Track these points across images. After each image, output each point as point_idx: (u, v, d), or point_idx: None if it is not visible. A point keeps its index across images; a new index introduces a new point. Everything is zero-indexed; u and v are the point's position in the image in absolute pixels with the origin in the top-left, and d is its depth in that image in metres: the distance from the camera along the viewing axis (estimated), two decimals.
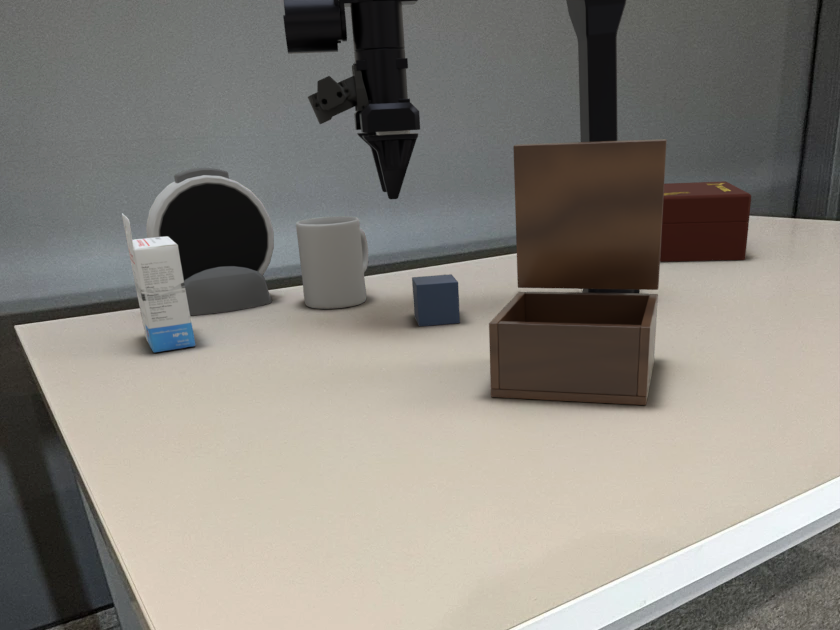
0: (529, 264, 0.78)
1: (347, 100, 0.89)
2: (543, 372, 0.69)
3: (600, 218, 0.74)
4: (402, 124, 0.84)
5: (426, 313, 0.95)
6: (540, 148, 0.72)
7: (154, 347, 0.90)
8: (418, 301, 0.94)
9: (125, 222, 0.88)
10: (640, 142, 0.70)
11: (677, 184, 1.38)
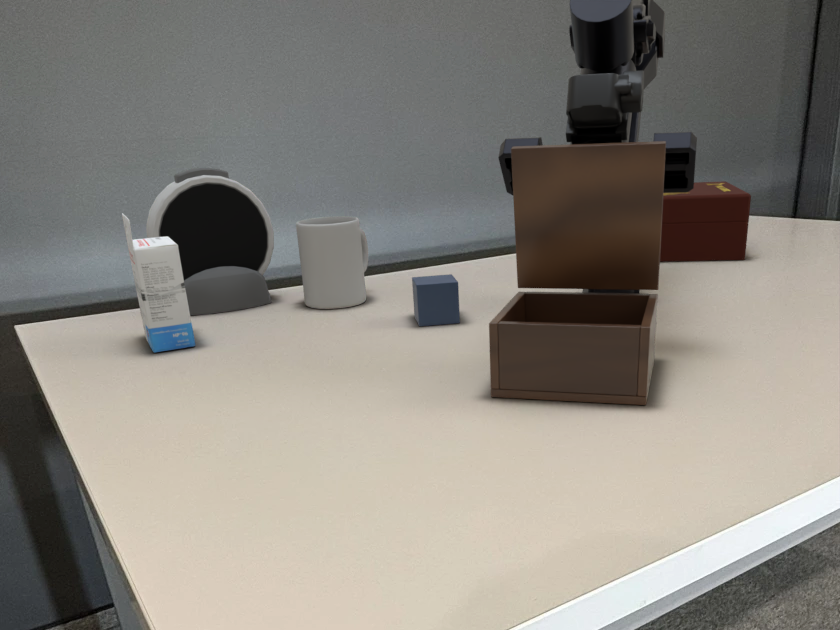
0: (529, 265, 0.78)
1: (622, 114, 0.75)
2: (543, 372, 0.69)
3: (599, 220, 0.73)
4: None
5: (426, 313, 0.95)
6: (538, 151, 0.71)
7: (154, 347, 0.90)
8: (418, 301, 0.94)
9: (125, 222, 0.88)
10: (639, 145, 0.69)
11: None
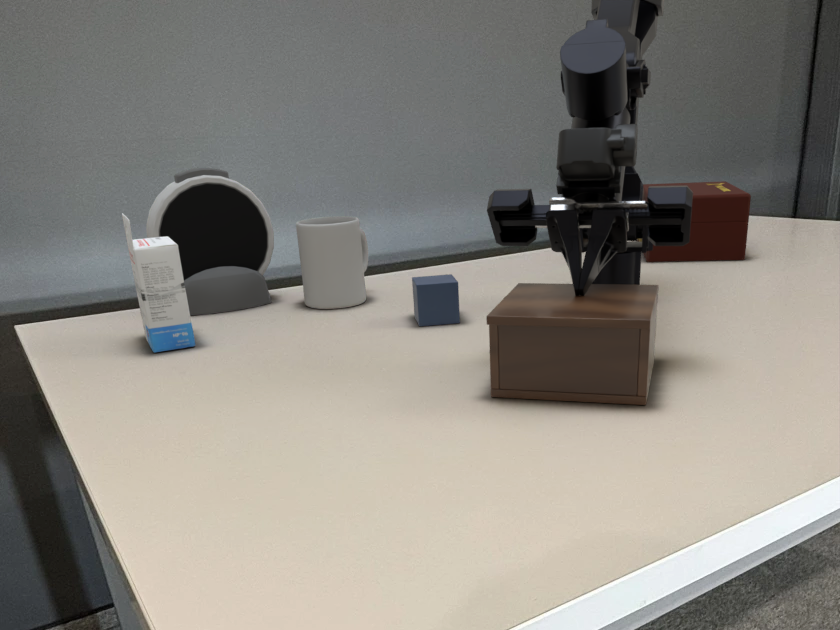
0: None
1: (615, 167, 0.72)
2: (543, 372, 0.69)
3: None
4: None
5: (426, 313, 0.95)
6: None
7: (154, 347, 0.90)
8: (418, 301, 0.94)
9: (125, 222, 0.88)
10: (622, 328, 0.65)
11: (677, 184, 1.38)
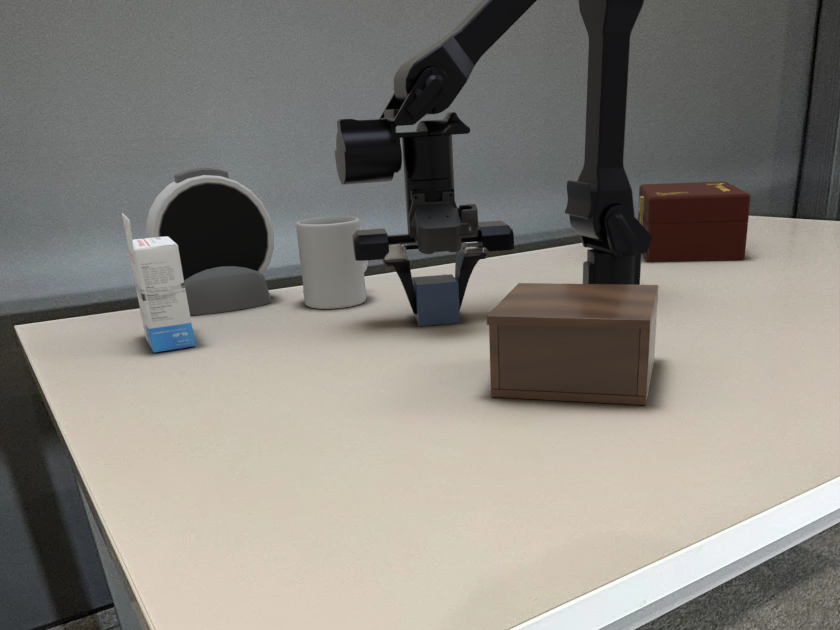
0: None
1: None
2: (543, 372, 0.69)
3: None
4: None
5: (426, 313, 0.95)
6: None
7: (154, 347, 0.90)
8: (418, 301, 0.94)
9: (125, 222, 0.88)
10: (622, 328, 0.65)
11: (677, 184, 1.38)
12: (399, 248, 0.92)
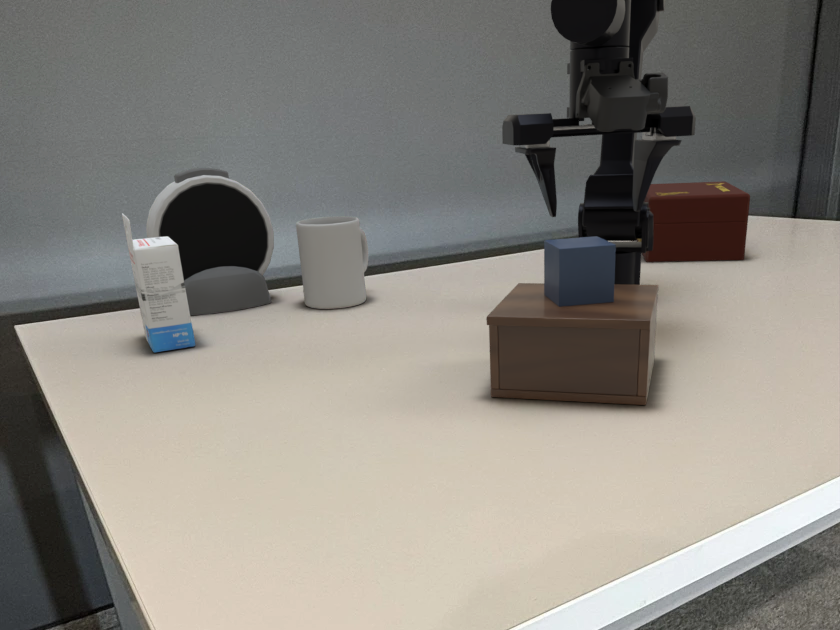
0: None
1: None
2: (543, 372, 0.69)
3: None
4: None
5: (570, 288, 0.69)
6: None
7: (154, 347, 0.90)
8: (560, 271, 0.68)
9: (125, 222, 0.88)
10: (622, 328, 0.65)
11: (676, 184, 1.38)
12: None
